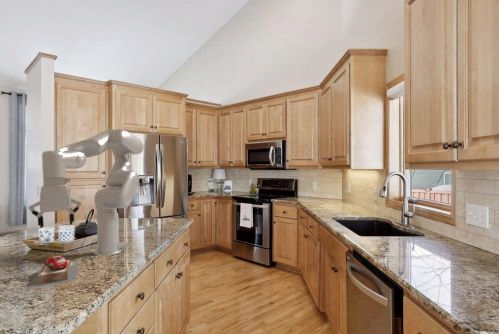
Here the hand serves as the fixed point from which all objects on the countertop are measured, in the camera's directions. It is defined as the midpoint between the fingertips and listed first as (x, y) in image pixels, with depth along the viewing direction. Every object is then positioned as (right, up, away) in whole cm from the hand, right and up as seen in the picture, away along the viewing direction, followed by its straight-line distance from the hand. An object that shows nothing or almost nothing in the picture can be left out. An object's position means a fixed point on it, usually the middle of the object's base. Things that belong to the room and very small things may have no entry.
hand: (56, 225), depth 113 cm
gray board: (+2, -19, -3) cm, 20 cm away
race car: (+2, -16, -3) cm, 16 cm away
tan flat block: (+2, -19, -3) cm, 19 cm away
